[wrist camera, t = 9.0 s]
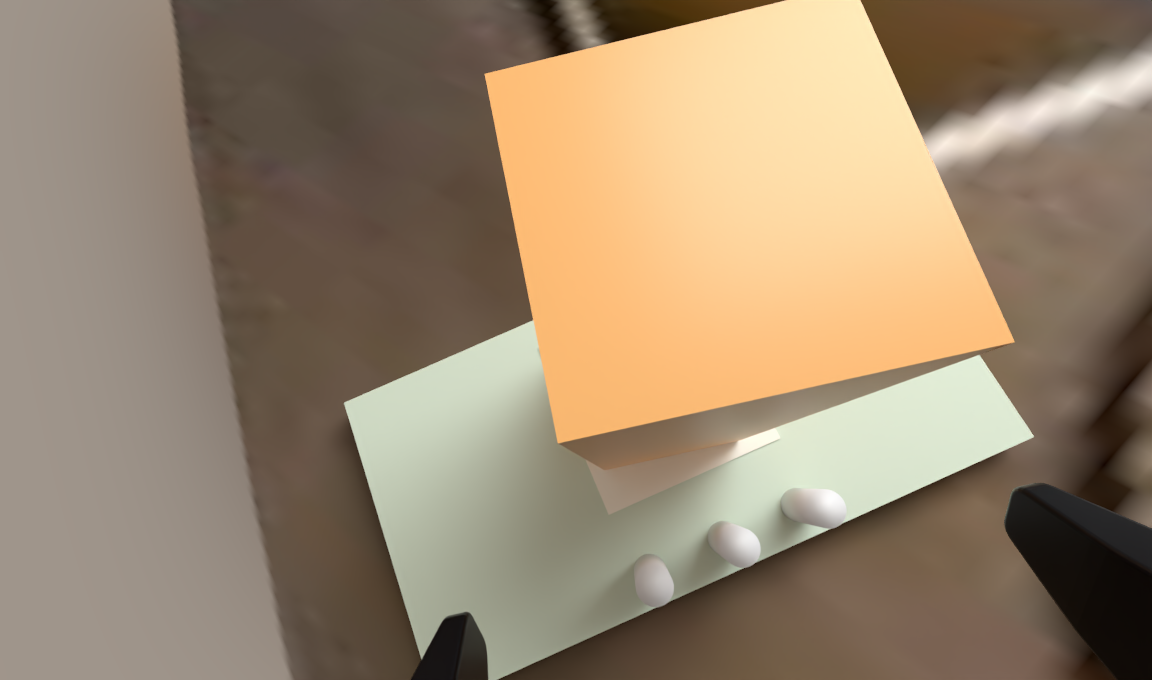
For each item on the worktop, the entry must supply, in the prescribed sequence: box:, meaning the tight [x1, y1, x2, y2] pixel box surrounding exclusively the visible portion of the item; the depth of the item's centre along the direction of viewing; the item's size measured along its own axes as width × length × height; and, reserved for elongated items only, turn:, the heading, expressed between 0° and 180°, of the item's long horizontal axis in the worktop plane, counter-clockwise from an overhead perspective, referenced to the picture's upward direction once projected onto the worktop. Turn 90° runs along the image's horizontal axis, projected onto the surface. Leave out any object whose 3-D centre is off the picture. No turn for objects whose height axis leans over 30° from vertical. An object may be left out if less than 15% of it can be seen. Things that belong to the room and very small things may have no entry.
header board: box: [344, 321, 1034, 680], centre depth 17 cm, size 10×20×4 cm, turn 113°
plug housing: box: [485, 0, 1014, 470], centre depth 12 cm, size 4×4×13 cm
